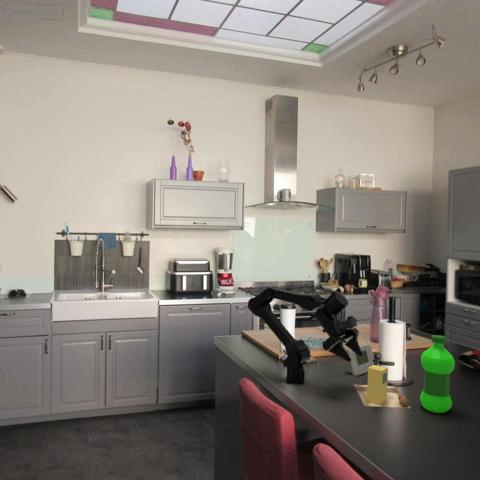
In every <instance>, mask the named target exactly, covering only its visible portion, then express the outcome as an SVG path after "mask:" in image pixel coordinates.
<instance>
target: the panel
mask: <svg viewBox="0 0 480 480" xmlns="http://www.w3.org/2000/svg"><path fill="white" fill-rule="evenodd" d="M353 386H354V388H355V390H356V392H357V394H358V396H359V397H360V400H361V401H362V403H363V406H364V407H380V408H397V409H398V408H399V409H401V408H402V409H411V406H410V405H409V406H408V407H404V406H403V405H402V404H401V402H400V401H399V399H398V397H399V395H398V394H397V392H399V390H398V389H397V388H396V386H395V385H394V386H393V385H392V386H391V385H387V401H386V402H384V403H383V404H381V405H379V404H376V403H372V402H368V401H367V384H353ZM399 394H400V395H402V394H401V393H400V392H399Z"/></svg>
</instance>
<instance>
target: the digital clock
mask: <svg viewBox="0 0 480 480" xmlns="http://www.w3.org/2000/svg"><path fill="white" fill-rule="evenodd" d="M359 346H360V349H361V351H362V354H363V355H362V356H359V355H357V354H356V353H355V352H354V351H352V350H351V349H350V348H347V349H346V351H347V353H348V355H349V356H350V358H351V361H350V362H348V361H346V372H347V373H350V374H351V375H352V376H353V377H359V376H362V375H363V374H368V368H369V367H371V366H373V365H374V362H373V359H374V360H375V357H374V353H373V349H372V346H371V344H370V343H368V342H367V343H362V344H359Z"/></svg>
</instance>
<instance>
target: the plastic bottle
mask: <svg viewBox="0 0 480 480" xmlns="http://www.w3.org/2000/svg"><path fill="white" fill-rule="evenodd" d="M446 338H447V337H446V336H445V335H440V334H439V335H438V334H433V335H431V342H432V346H431V347H429V348H428V349H426V350H425V351H423V352H422V354H421V356H420V363H421V367H422V368H423V374H424V376H423V389H422V392H421V393H420V396H419V399H420V402H421V405H422V407H423V409H425V410H426V411H428V412H430V413H435V414H444V413H446V412H448V411H449V410H450V409H451V408H452V405H453V401H452V398H451V395H450V388H451V387H450V385H451V384H450V382H451V381H450V380H451V373H452V372H453V371H454V370H455V367H456V365H455V364H456V361H455V359H454V357H453V355H452V354H451V353H450V352H449V350H447V349H446V348H445V347H444V345H445V344H446V340H447V339H446Z"/></svg>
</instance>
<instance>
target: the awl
mask: <svg viewBox="0 0 480 480" xmlns="http://www.w3.org/2000/svg"><path fill="white" fill-rule="evenodd" d="M399 393H400V391H398V392H397V394H398V395H399V397H398V399H399V401H400V402H401V404H402V405H403V406H404V407H408V406H410V401H409V400H408V399H407V398H406V396H405V395H404V394H401V393H400V394H401V395H400V394H399Z"/></svg>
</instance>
